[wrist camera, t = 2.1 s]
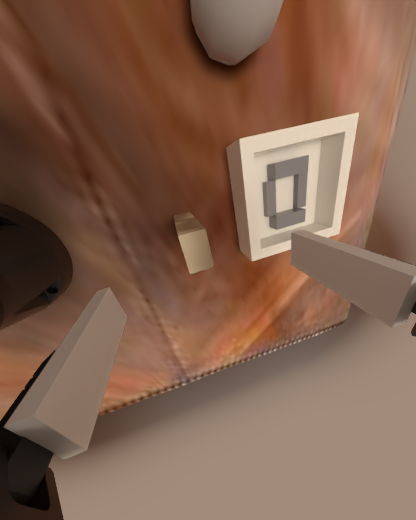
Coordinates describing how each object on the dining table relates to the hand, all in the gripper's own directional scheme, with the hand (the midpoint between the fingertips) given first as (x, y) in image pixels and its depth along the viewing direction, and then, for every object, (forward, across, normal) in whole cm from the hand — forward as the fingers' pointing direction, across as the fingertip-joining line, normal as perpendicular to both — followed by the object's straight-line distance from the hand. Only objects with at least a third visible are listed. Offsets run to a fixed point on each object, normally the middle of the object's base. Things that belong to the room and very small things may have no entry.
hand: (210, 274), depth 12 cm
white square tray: (+15, +16, +1) cm, 22 cm away
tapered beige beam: (+15, 0, 0) cm, 15 cm away
